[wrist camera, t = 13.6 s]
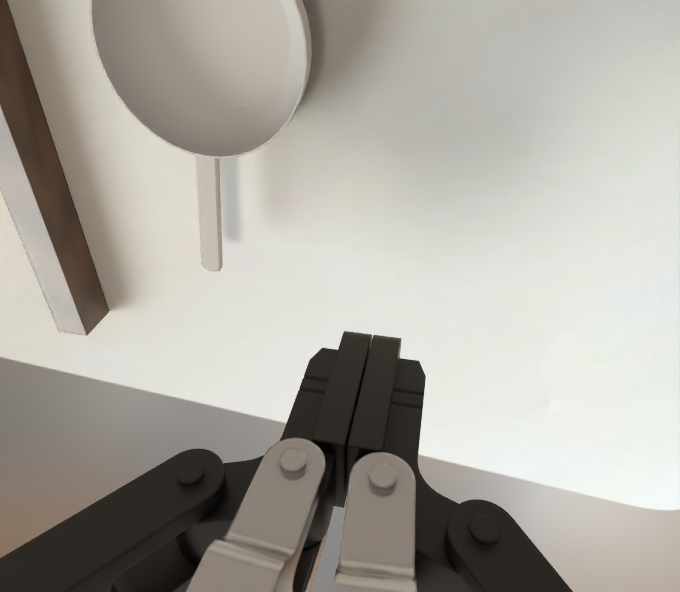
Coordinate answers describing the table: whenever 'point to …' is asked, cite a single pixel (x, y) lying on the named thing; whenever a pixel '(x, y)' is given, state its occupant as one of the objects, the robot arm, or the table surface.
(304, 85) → the saucepan
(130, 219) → the table surface
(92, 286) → the walnut rail
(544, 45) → the table surface
